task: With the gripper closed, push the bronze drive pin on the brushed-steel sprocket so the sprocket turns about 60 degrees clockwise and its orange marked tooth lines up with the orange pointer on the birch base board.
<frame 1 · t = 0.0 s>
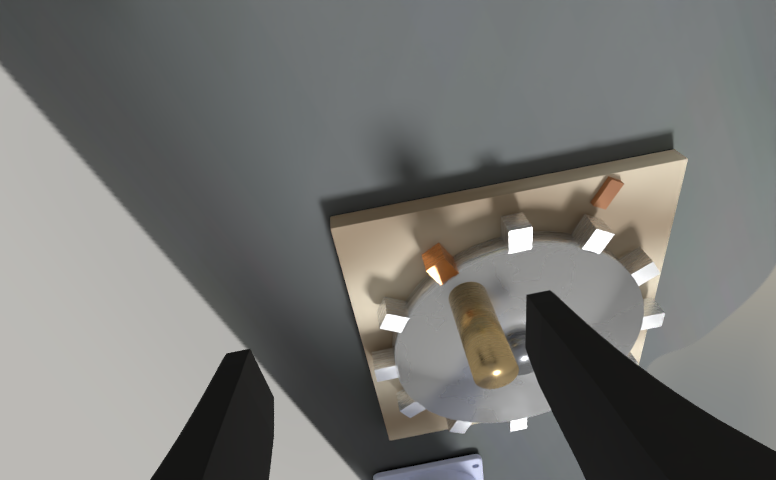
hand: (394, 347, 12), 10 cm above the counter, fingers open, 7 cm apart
sprocket base: (504, 313, 27), on the counter
sprocket: (530, 373, 23), point 4 cm above the counter, hinge at 0.0°
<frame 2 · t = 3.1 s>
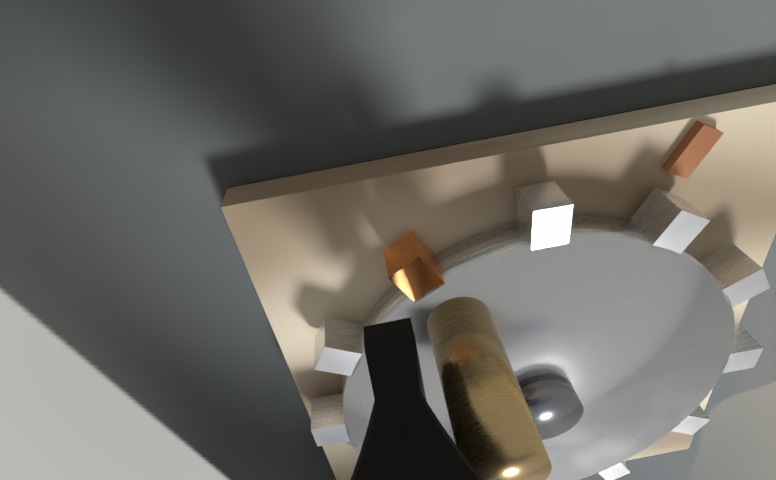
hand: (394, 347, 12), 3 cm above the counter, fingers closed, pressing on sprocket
sprocket base: (513, 342, 18), on the counter
sprocket: (557, 443, 15), point 4 cm above the counter, hinge at -1.0°, touching gripper
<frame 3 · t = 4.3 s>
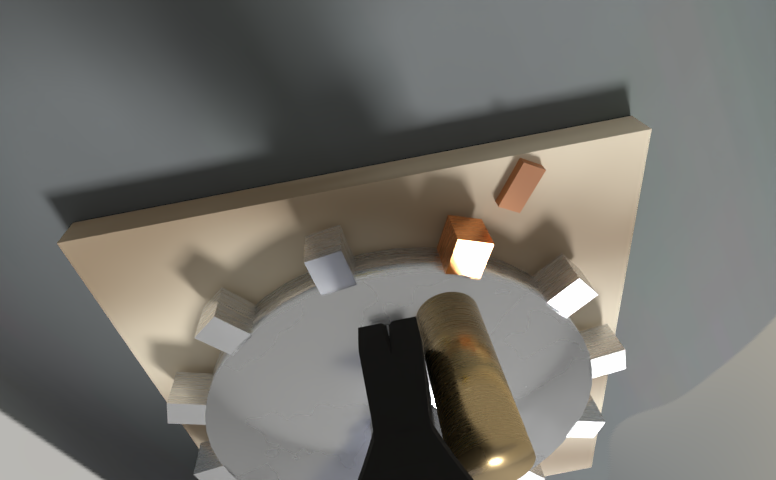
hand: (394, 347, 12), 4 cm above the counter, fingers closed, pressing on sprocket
sprocket base: (395, 365, 18), on the counter
sprocket: (412, 469, 15), point 4 cm above the counter, hinge at -51.7°, touching gripper
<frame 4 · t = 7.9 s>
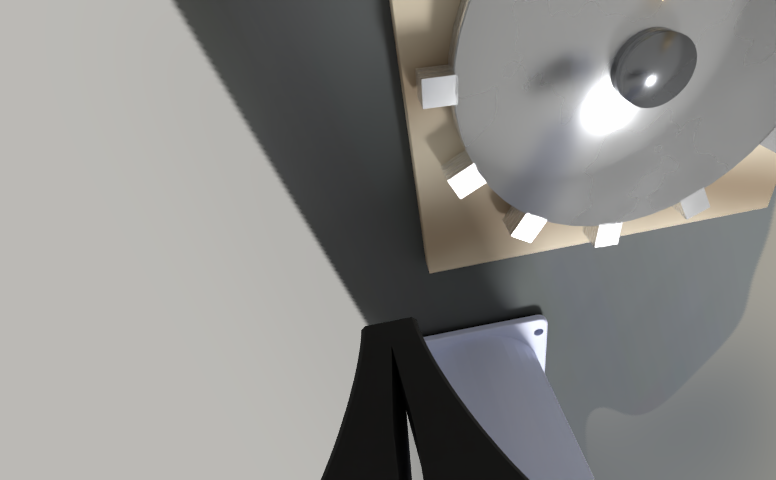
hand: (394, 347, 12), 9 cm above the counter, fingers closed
sprocket base: (609, 46, 18), on the counter
sprocket: (675, 79, 15), point 4 cm above the counter, hinge at -63.6°
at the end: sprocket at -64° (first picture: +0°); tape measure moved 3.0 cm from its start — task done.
